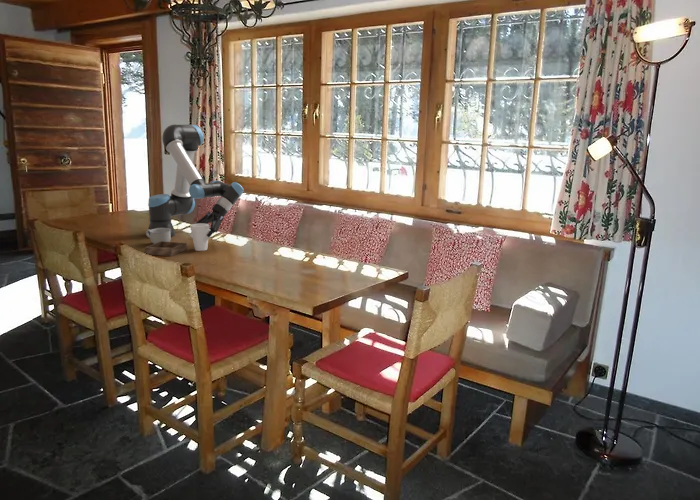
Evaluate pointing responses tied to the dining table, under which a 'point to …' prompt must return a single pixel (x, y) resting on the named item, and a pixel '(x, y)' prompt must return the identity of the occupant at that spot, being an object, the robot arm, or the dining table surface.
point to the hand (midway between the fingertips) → (196, 239)
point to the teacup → (159, 235)
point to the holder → (165, 248)
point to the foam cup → (199, 235)
